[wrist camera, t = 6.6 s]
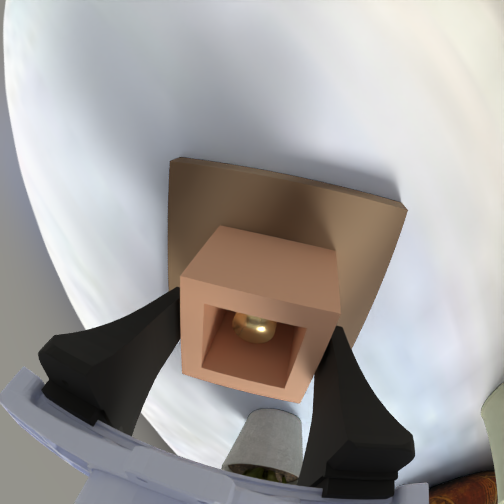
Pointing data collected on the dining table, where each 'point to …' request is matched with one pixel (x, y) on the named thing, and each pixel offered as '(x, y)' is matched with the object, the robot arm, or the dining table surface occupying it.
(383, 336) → the dining table surface
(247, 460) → the house plant
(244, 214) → the keeper
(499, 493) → the can
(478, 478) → the jug
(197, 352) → the open box
